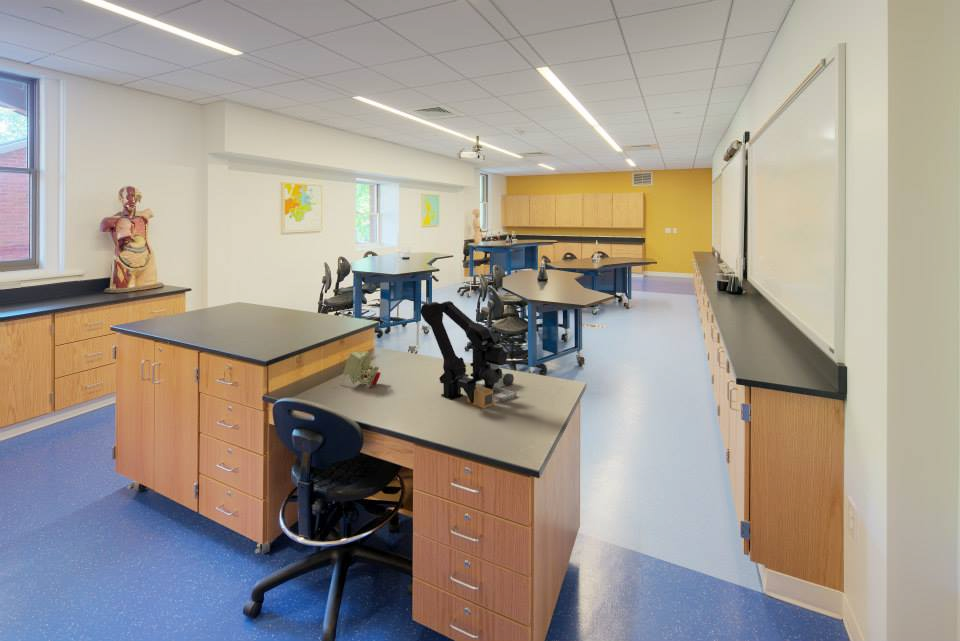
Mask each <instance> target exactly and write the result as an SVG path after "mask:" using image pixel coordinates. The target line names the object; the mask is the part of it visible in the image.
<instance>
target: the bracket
mask: <svg viewBox="0 0 960 641" xmlns="http://www.w3.org/2000/svg"><path fill="white" fill-rule="evenodd" d="M495 390H496V392H498V391H499V392H498V393H501V392H502V394H504V393H506V394H505V395H504V396H499V395H495V394H493V399H494V400H495V401H496V400H497V402H499V401H500V402H499V403H503V402H505V400H506V401H507V399H508V400H511V399H513V398H515V396H516V397H517V394H518V392H515V391H512V390H509V389H506V388H503V387H497V386H493V391H495ZM507 394H508V395H507ZM512 397H513V398H512ZM510 398H511V399H510ZM494 400H493V401H494ZM502 401H503V402H502Z"/></svg>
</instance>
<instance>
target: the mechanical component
mask: <svg viewBox="0 0 960 641" xmlns="http://www.w3.org/2000/svg"><path fill="white" fill-rule="evenodd" d="M369 355H370V352H369V351H368V350H367V351H366V350H364V352H363V351H359V352H357V351H355V350H354V351H351V352H350V353H349V356H348V359H347V360H346V364H345V366H344V368H343V371H342V373H343V374H344V375H343V379H342V381H341V383H340V386H342V385H343V383H344V381H345V380H344V379H345V377H346V375H347V376H349V377H348V379H349V380H350V382H351V383H352V384H357V382H359V383H360V384H366V385H365V388H366V389H370V387H371V385H373V386H377V383H378V382H379V379H380V377H381V374H382V373H381V372H379V371H378V370H379V369H380V366H378V365H375V366H374V367H373V365H371V363H372V362H371V357H369ZM369 370H370V371H369Z"/></svg>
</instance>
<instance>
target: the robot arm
mask: <svg viewBox="0 0 960 641" xmlns="http://www.w3.org/2000/svg"><path fill="white" fill-rule="evenodd" d="M419 311H420V316H421V317H422V319H423V321H424V322H425V323H426V324H428V325H429V326H430V328H431V331H432V333H433V336H434V338H435V340H436V343H437V345H438V348H439V351H440V353H441V355H442V358H443V364H442V365H443V366H442V368H443V373H442V374H441V375H440V377H439V378H438V379H439V383H440V384H442V385H443V387H442V388H443V393H442V394H440V396H441V397H443V398H445V399H448V400H454V399H458V398H461V397H463V396H464V394H463V393H461V391H462V390H464V392H465V394H466V396H468V398H469V400H470V402H471V403H472V404H471V403H470V404H471V405H473V403H474V391H475V389H476V388H475V386H476V383H477V382H479V381H482V380H484V382H485V388H488V389H491V390H492V389H493V386H494V384H495V383H498V381H499V379H501V378H502V372H503V369H501V367H499V368H498V369H496V370H495V369H491V365H490V363H491V364H496V365H499V366H504V365H505V363H506V362H507V360H508V359H507V358H508V354H507V352H506V350H505V349H504V348H505V347H504V346H498V345H497V343H496V342H495V339H494V338H493V336H492V334H491V332H490V329H488V328H487V327H486V326H484V325H483V324H480V323H477V322H475V321H473V320H472V319H471V318H470V317H469V316H468V315H466V314H465V313H464V312H463V311H461V310H460V309H459V308H458V307H457V306H455V304H454V302H452V301H451V300H448V301H447V300H446V301H443V302H437V301H432V302H427V303H424V304H422V305H421V307H420V310H419ZM444 314H445V315H446V316H447V317H448V318H450V320H452V321H453V322H454V323H455V324H456V325H458V327H459V328H461V329H462V330H463V332H464V333H465V337H466V338H467V339H468V340H469V341H470V344H469V345H468V346H467V348H468V349H470V350H472V362H471V363H470V367H472V373H470V376H471V377H473V378H472V379H471V378H468V377H464V375H465V374H466V373H467V368H466V367H467V365H466V363H465V362H464V358H463V357H458V356H457V354H456V352H455V349H454V347H453V345H452V342H451V339H450V337H449V334H448V333H447V330H446V327H445V325H444V322H443V320H444V319H443V318H444ZM463 377H464V378H463Z"/></svg>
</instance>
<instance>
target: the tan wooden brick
mask: <svg viewBox="0 0 960 641" xmlns="http://www.w3.org/2000/svg"><path fill="white" fill-rule="evenodd" d="M475 388H476V389H475V391H474V403H473V404H474V405H473V404H472V405H473V406H476V405H477V407H479V406H480V407H479V408H482V407H483V409H486V408H488V407H487V406H489V407H491V406H493V405H494V400H493V395H494V390H491V389H488V388H485V387H482V386H479V385H476V386H475ZM466 396H467V395H466ZM466 402H467V403H468V402H469V404H471V402H470V400H469V398H468V396H467V400H466ZM490 405H491V406H490ZM485 407H486V408H485Z"/></svg>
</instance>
